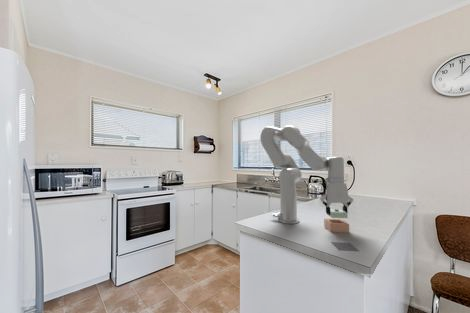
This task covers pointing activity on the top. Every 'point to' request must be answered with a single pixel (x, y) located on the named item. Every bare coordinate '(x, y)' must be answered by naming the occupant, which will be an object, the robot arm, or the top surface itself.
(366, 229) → the top surface
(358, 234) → the top surface
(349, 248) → the mat
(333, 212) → the green block with hole
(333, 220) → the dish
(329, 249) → the top surface
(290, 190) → the robot arm
